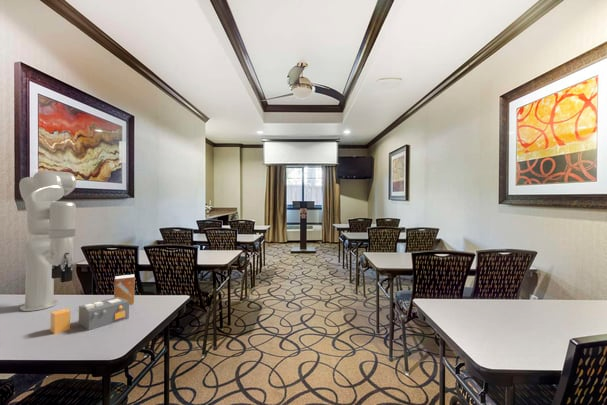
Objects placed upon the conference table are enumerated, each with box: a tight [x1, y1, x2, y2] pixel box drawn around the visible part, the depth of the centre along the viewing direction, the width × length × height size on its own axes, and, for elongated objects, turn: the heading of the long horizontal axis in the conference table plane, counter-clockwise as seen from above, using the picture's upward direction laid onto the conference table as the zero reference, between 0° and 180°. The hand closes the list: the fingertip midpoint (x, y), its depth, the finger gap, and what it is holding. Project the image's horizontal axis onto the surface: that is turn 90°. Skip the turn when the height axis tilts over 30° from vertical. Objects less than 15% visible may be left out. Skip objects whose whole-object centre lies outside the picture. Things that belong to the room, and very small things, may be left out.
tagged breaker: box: [107, 299, 122, 304], centre depth 116 cm, size 4×4×6 cm
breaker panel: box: [78, 297, 130, 331], centre depth 113 cm, size 11×14×8 cm
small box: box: [113, 274, 136, 305], centre depth 133 cm, size 8×6×13 cm
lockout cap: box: [50, 308, 71, 335], centre depth 105 cm, size 4×4×7 cm
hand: (61, 279), depth 105 cm, fingers open, 9 cm apart
